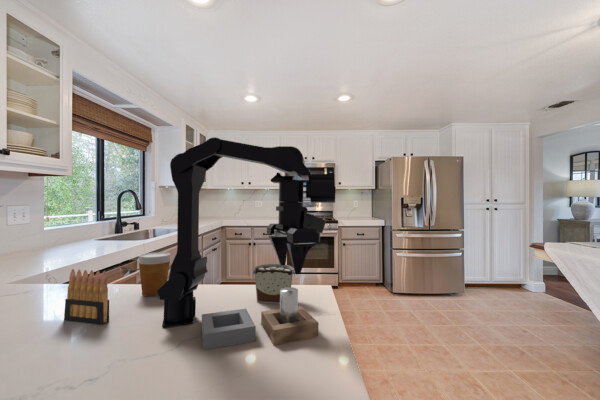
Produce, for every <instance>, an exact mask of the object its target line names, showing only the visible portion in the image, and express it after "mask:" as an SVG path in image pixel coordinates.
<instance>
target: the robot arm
mask: <svg viewBox="0 0 600 400" xmlns="http://www.w3.org/2000/svg"><path fill="white" fill-rule="evenodd" d="M222 158H228V159H232V160H233V159H234V160H238V161H244V162H250V163H254V164H258V165H265V166H268V167H270V168H272V169H275V170H278V171H280V172H283V173H284V174H288V175H282V174H281V173H280V172H276V174H275V175H274V176H273V177H272V178H271V179H270V182H272V183H273V184H278V186H279V187H278V206H277V205H276V206H275V211H278V223H269V225H267V226H266V235H267V236H268V239H269V241H270V242H271V245H272V247H273V250H274V251H275V254H276V256H277V259H278V262H279V264H281V265H287V264H286V262H287V256H288V253H289V257H290V261H291V264H292V267H293V270H294V273H295V275H301V273H302V270H303V266H304V263H305V260H306V258H307V254H308V253H309V251H310V250H311V249H312V248H313V247H316V246H317V244H318V243H321V234H323V232H324V229H325V225H326V222H327V220H325V219H323V218H320V217H318V216H315V214H312V213H310V212H308V208H307V206H304V184H305V198H306V199H310V203H315V204H316V203H320V204H321V203H322V204H324V203H326V204H327V203H328V204H331V203H332V204H335V203H336V186H335V185H336V184H335V183H336V182H335V172H328V173H311V171H310V169H309V168H308V167H307V166H306V164H305V159H304V156H303V153H302V151H300V149H299V148H297V147H295V146H291V145H289V146H288V145H287V146H286V145H285V146H283V145H282V146H281V145H279V146H272V147H271V146H269V147H264V146H259V145H255V144H248V143H242V142H238V141H237V142H236V141H232V140H227V139H226V140H225V139H221V138H220V137H219V138H218V137H215V136H214V137H210V138H209V139H207V140H205V141H203V143H202V142H201V143H200V144H198V145H196V146H193V147H190V148H188V149H187V150H185V151H184V152H182V153H181V152H180V153H178V154H175V156H174V157H173V158H171V159H170V164H169V167H170V174H171V179H172V182H173V184H174V186H175V189H176V191H177V223H176V224H177V225H176V226H177V230H176V231H177V234H176V237H177V240H176V254H175V256H174V258H173V260H172V262H171V263H170V264H171V265H170V267H169V273H168V279H167V282H166V283H165V284H164V285H163V286H162V287H161V288H160V289H159V290H158V291H157V292H158V295H157V296H158V298H159V300H160V301H163V321H162V324H161V327H162V328H167V327H174V326H181V325H188V324H193V323H194V318H195V317H196V304H197V303H196V301H197V298H196V296H194V291H196V290H197V289H198V286H199V284H200V283H201V282H202V281H203V280H204V279H205V276H206V274H207V273H208V272H209V271H208V268H207V263H208V257H207V256H202V255H201V252H200V251H199V250H200V249H199V227H200V226H199V222H200V221H199V218H200V215H199V214H200V209H199V208H200V200H199V199H200V191H201V190H202V187H203V185H204V183H205V180H206V179H205V178H206V174H207V171H209V170H210V169H211V168H213V167H214V166H215V164H216V163H217V162H218V161H219V160H221V159H222ZM295 175H297V177H300V178H301V179H295Z"/></svg>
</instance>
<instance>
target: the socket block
mask: <svg viewBox="0 0 600 400" xmlns="http://www.w3.org/2000/svg"><path fill="white" fill-rule="evenodd" d="M201 336H202V348H203V351H206V350H211V349H213V350H214V349H218V347H219V348H223V347H228V346H235V345H240V344H244V343H251V342H255V341H256V325H255V322H254V321H253V319H252V317H251V315H250V313H249V311H248V309H247V308H239V309H233V310H226V311H217V312H209V313H202V314H201Z"/></svg>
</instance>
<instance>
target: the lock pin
mask: <svg viewBox="0 0 600 400" xmlns="http://www.w3.org/2000/svg"><path fill="white" fill-rule="evenodd" d="M298 300H299V289H298V288H296V287H293V286H291V287H285V288H282V289H280V303H279V309H280V324H286V323H292V322H297V318H298V304H299V302H298Z"/></svg>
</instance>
